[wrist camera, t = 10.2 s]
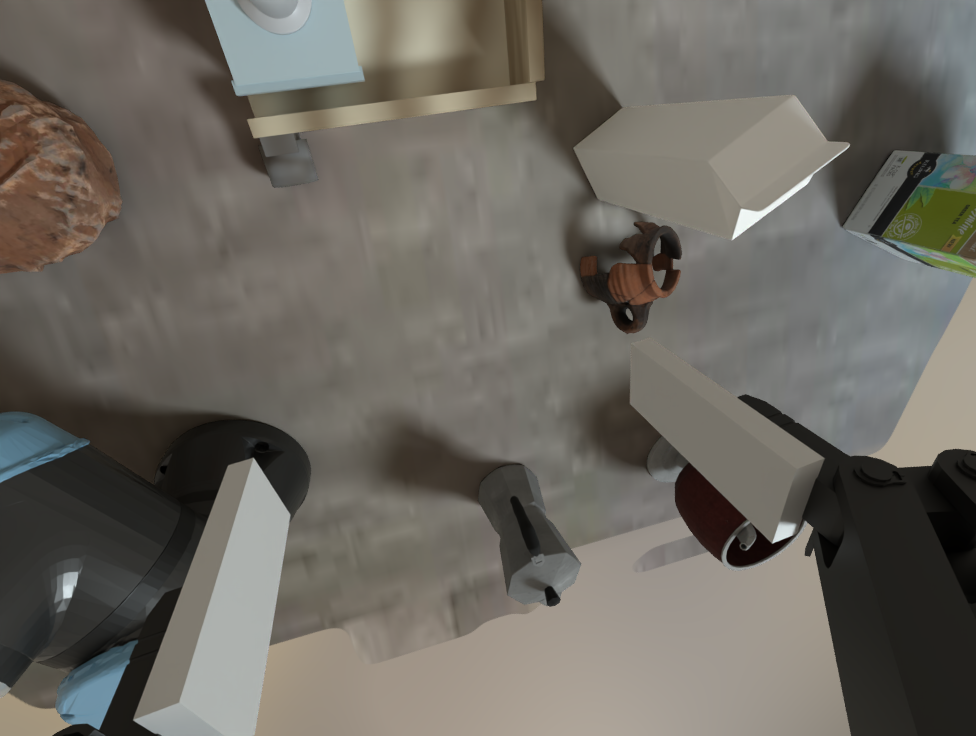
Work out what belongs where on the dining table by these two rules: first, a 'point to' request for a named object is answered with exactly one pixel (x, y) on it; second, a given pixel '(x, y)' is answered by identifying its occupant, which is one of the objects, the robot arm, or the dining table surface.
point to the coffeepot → (527, 537)
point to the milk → (706, 160)
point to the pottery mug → (635, 276)
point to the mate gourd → (713, 513)
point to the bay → (408, 73)
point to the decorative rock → (50, 182)
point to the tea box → (922, 210)
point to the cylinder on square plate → (285, 44)
